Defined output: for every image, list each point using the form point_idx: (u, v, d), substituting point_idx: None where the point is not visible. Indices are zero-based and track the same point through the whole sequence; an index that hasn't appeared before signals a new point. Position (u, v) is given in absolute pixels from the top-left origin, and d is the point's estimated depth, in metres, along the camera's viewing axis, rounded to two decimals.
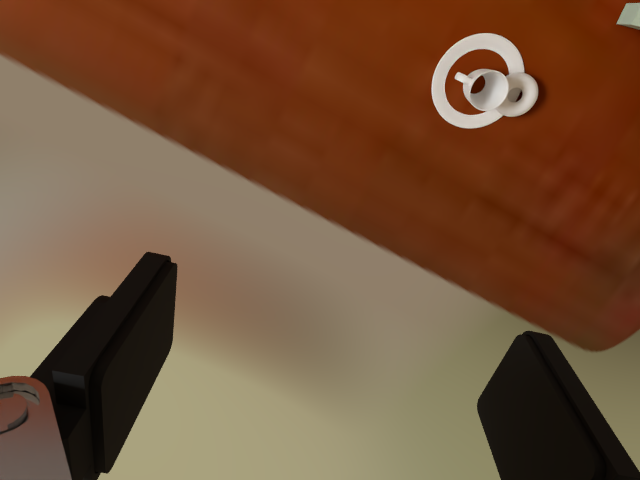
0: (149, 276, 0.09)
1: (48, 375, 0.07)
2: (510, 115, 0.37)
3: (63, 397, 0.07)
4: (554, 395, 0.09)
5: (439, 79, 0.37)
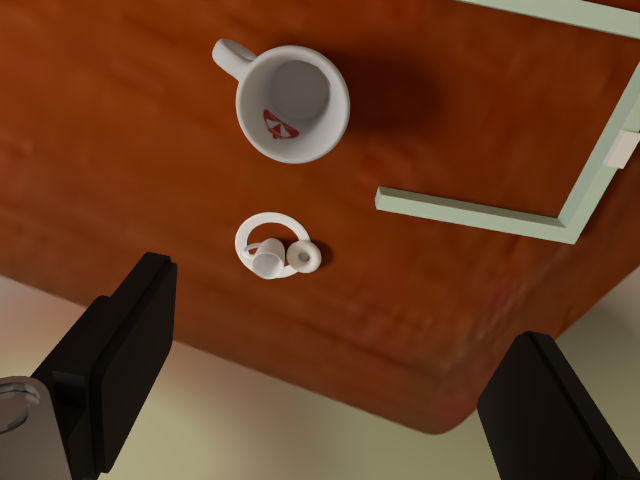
0: (149, 276, 0.09)
1: (48, 375, 0.07)
2: (302, 272, 0.44)
3: (63, 397, 0.07)
4: (554, 395, 0.09)
5: (240, 244, 0.43)
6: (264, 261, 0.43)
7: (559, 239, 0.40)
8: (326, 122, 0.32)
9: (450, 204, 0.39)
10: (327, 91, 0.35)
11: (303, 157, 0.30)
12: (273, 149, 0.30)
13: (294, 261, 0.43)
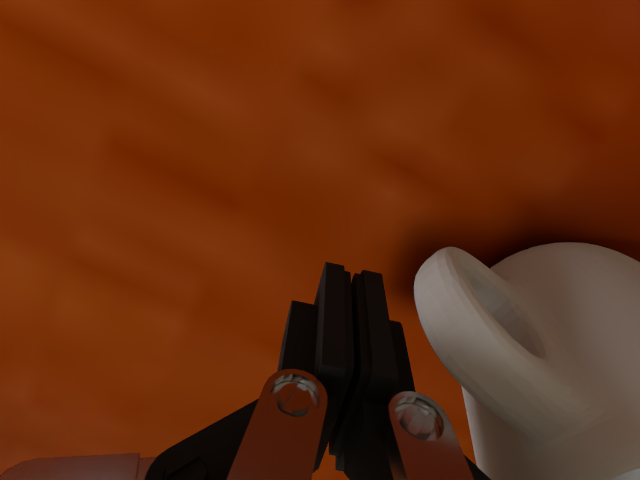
0: (342, 284, 0.10)
1: (294, 369, 0.09)
2: None
3: None
4: (358, 319, 0.10)
5: None
6: None
7: None
8: None
9: None
10: None
11: None
12: None
13: None
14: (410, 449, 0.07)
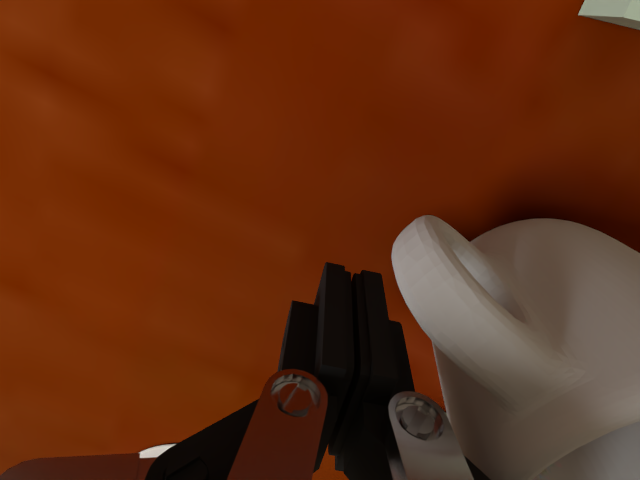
0: (342, 284, 0.10)
1: (294, 369, 0.09)
2: None
3: None
4: (358, 319, 0.10)
5: None
6: None
7: None
8: None
9: None
10: None
11: None
12: None
13: None
14: (410, 449, 0.07)
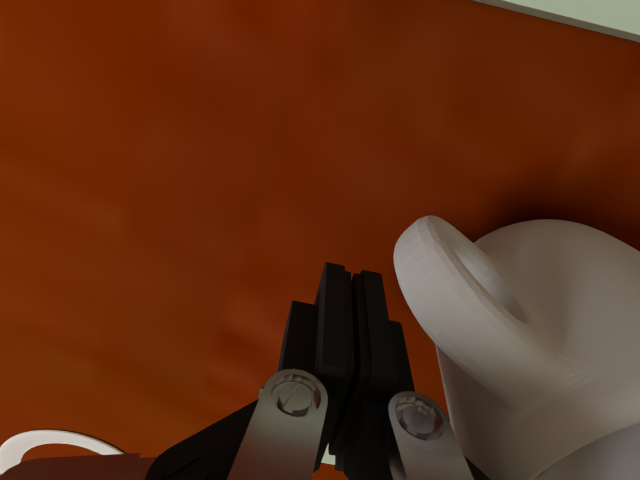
0: (342, 284, 0.10)
1: (294, 369, 0.09)
2: None
3: None
4: (358, 319, 0.10)
5: None
6: None
7: None
8: None
9: None
10: None
11: None
12: None
13: None
14: (410, 449, 0.07)
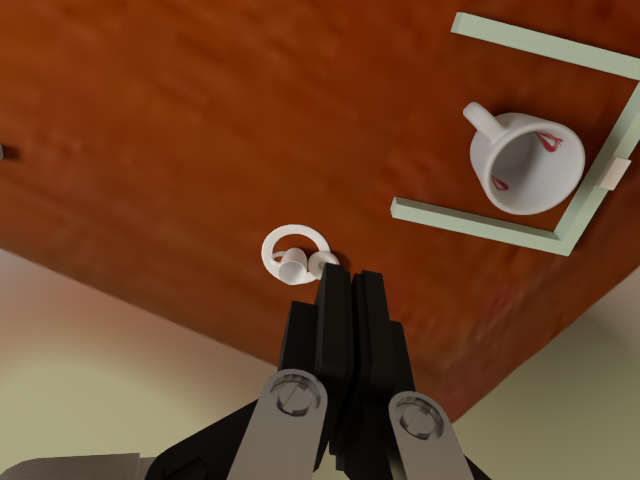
0: (342, 284, 0.10)
1: (294, 368, 0.09)
2: None
3: None
4: (359, 319, 0.10)
5: (266, 252, 0.48)
6: (287, 268, 0.47)
7: (555, 250, 0.44)
8: (539, 181, 0.37)
9: (458, 215, 0.43)
10: (527, 151, 0.40)
11: (526, 210, 0.36)
12: (502, 200, 0.36)
13: (314, 269, 0.47)
14: (410, 449, 0.07)
